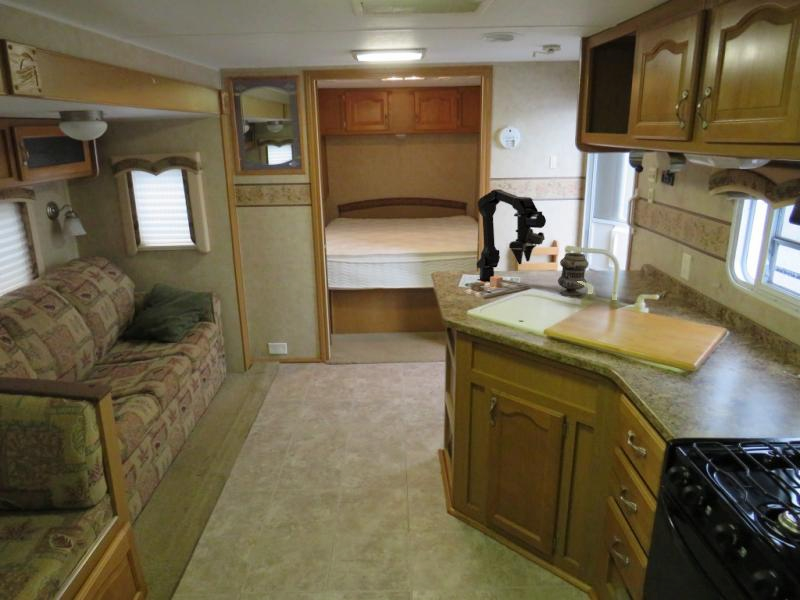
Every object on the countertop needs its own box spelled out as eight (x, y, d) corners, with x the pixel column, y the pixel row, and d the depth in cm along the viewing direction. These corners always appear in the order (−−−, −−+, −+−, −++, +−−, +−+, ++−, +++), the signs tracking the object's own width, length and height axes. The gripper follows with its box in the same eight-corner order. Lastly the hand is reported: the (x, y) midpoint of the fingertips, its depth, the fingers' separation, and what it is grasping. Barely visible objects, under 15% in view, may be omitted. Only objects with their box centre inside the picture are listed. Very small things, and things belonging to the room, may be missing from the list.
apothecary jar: (570, 299, 234) (575, 258, 229) (551, 292, 244) (554, 253, 239) (591, 296, 239) (595, 255, 234) (571, 289, 250) (574, 250, 244)
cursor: (489, 285, 251) (490, 276, 250) (495, 284, 254) (496, 275, 253) (505, 289, 244) (505, 281, 243) (511, 288, 246) (512, 279, 245)
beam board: (464, 292, 244) (464, 289, 243) (510, 282, 261) (510, 279, 261) (483, 298, 235) (483, 295, 234) (530, 287, 252) (530, 284, 252)
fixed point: (470, 289, 244) (471, 283, 244) (477, 288, 247) (477, 281, 246) (486, 294, 237) (486, 287, 236) (492, 292, 240) (493, 286, 239)
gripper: (534, 229, 225) (533, 266, 229) (549, 225, 240) (549, 260, 244) (508, 228, 232) (508, 265, 235) (525, 225, 247) (525, 259, 250)
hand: (523, 262), depth 241 cm, fingers open, 9 cm apart
